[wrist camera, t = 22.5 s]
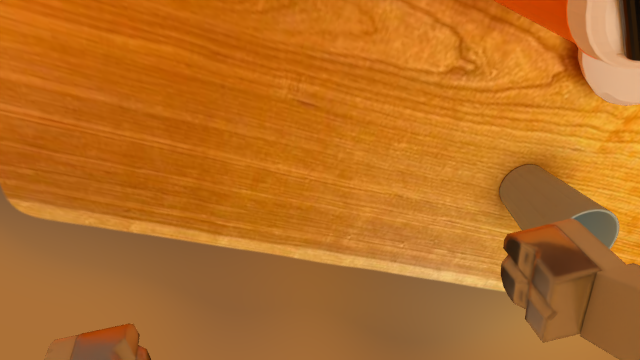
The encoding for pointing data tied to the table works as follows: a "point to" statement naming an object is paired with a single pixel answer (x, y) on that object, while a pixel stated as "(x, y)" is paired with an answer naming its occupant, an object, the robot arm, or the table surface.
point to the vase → (611, 80)
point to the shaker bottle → (590, 26)
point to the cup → (553, 203)
